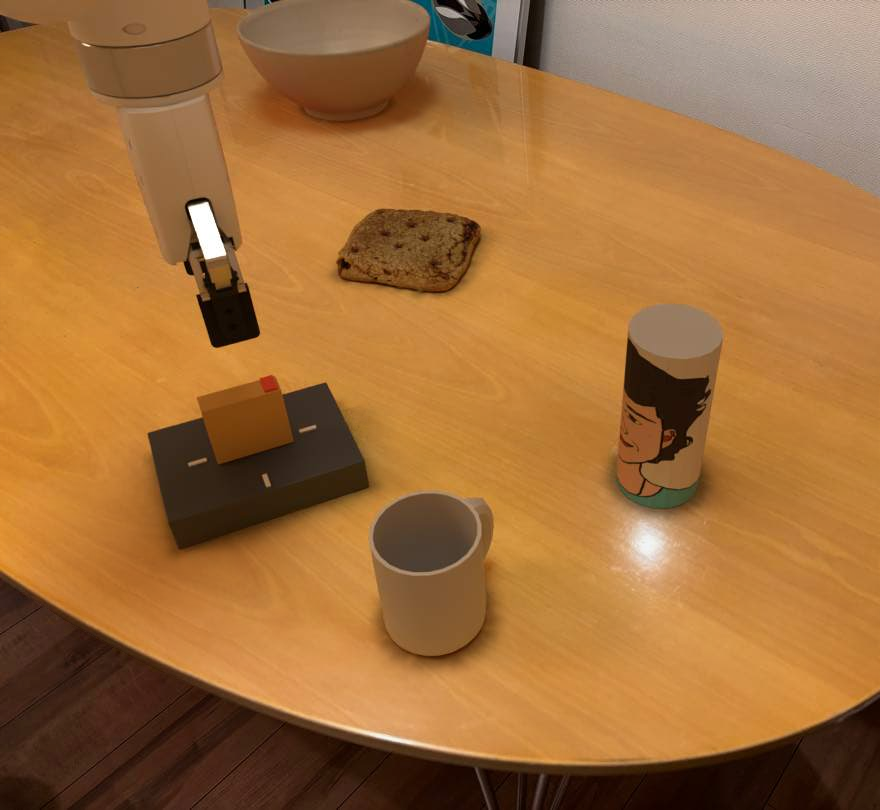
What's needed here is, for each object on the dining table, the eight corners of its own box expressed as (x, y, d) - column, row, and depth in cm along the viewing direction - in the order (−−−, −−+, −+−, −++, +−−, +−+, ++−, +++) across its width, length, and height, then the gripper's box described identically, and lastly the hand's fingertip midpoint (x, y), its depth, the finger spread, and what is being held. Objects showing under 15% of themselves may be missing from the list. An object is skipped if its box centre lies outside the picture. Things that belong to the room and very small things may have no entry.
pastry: (310, 243, 101) (305, 219, 99) (444, 204, 108) (442, 181, 106) (373, 316, 90) (369, 291, 88) (518, 268, 97) (517, 244, 95)
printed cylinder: (639, 440, 76) (654, 293, 66) (711, 469, 73) (738, 321, 64) (601, 487, 72) (611, 338, 62) (676, 520, 69) (699, 370, 59)
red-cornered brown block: (218, 465, 69) (200, 409, 66) (213, 449, 71) (195, 394, 67) (293, 442, 71) (280, 387, 68) (287, 427, 73) (274, 372, 69)
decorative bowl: (453, 76, 140) (448, -4, 133) (410, 148, 120) (401, 58, 112) (292, 67, 143) (277, -12, 135) (223, 136, 123) (202, 47, 115)
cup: (362, 625, 62) (344, 541, 56) (454, 536, 68) (446, 452, 62) (441, 678, 58) (431, 595, 53) (530, 580, 65) (529, 495, 59)
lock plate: (178, 549, 67) (167, 521, 65) (157, 458, 74) (146, 431, 72) (369, 486, 72) (364, 458, 70) (331, 407, 79) (325, 380, 77)
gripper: (70, 23, 56) (149, 257, 67) (97, 126, 44) (188, 389, 55) (192, 6, 58) (249, 235, 70) (249, 99, 47) (306, 356, 58)
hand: (222, 303), depth 62 cm, fingers open, 9 cm apart
